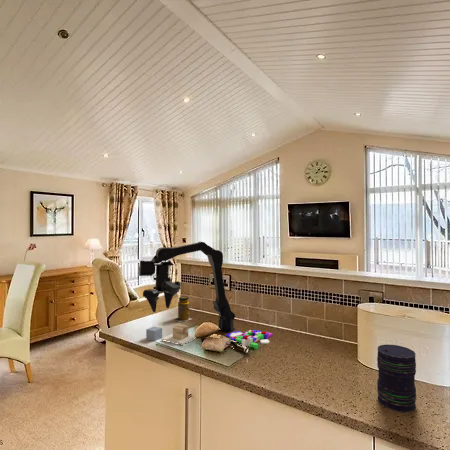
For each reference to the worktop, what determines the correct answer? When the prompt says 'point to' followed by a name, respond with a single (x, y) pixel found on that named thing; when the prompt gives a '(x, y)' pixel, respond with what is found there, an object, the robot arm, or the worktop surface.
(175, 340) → the plate
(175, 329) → the oak block
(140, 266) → the robot arm
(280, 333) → the worktop surface
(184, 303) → the condiment
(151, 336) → the slate block
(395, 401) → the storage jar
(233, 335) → the building block set
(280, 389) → the worktop surface
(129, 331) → the worktop surface
